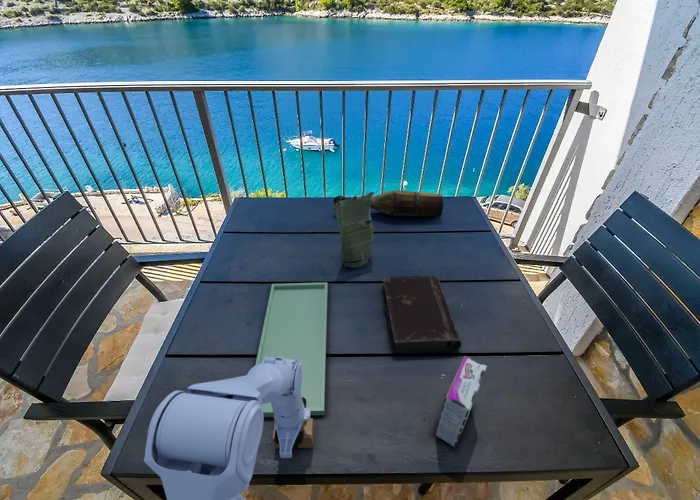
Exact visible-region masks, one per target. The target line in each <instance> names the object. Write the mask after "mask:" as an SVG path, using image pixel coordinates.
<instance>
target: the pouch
mask: <svg viewBox="0 0 700 500" xmlns="http://www.w3.org/2000/svg"><path fill="white" fill-rule="evenodd" d="M373 196H375V191H374V192H373V191H370V192H368V193H367V194H365V195H361V196H360V197H358V196H357V195H354V196H353V197H351V198H352V199H351V200H342V201H339V202H338V203H336V204H334V203H333V204H334V209H333V211H334V216H335V217H336V220H337V225H338V228H339V230H338V232H339V236H340V243H341V244H340V245H341V248H340V251H339V252H340V254H341V258H342V261H343V266H344V267H347V268H353V269H354V268H361V267H363V266H365V265H367V264H368V261H369V259H370V258H371V255H372V254H371V253H372V247H373V241H374V232H375V229H374V225H373V221H372V217H371V208H370V205H371V203H372V198H373ZM357 198H359V199H357Z"/></svg>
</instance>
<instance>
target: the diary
mask: <svg viewBox="0 0 700 500" xmlns="http://www.w3.org/2000/svg"><path fill="white" fill-rule="evenodd" d="M382 280H383V285H382V293H383V300H384V304H383V307H384V310H385V312H386V317H387V325H388V331H389V338H390V343H391V348H392V353H393V354H412V353H435V352H436V353H437V352H457V351H459V350H460V349H461V347H462V342H461V338H460V336H459V333H458V331H457V328H456V325H455V322H454V320H453V317H452V313H451V310H450V308H449V304H448V302H447V299H446V297H445V294H444V291H443V288H442V285H441V282H440V279H439V276H438V275H396V276H394V275H393V276H385V277H384V276H383V277H382Z"/></svg>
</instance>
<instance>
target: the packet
mask: <svg viewBox="0 0 700 500" xmlns="http://www.w3.org/2000/svg"><path fill="white" fill-rule="evenodd" d="M273 425H274V426H273V432H272V438H271V439H272V442H273V446H274V448H275V449H280V444H276V443H275V441H274V436H275V430H276V425H275V424H273ZM300 431H304V437H303V442H302V443H301V444H299V447H298V448H297V449H303V448H305V449H306V448H314V441H315V440H314V439H315V423H314V418H310V419H309V420H306V421H304V422H303V424H302V426H301V429H300Z"/></svg>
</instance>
